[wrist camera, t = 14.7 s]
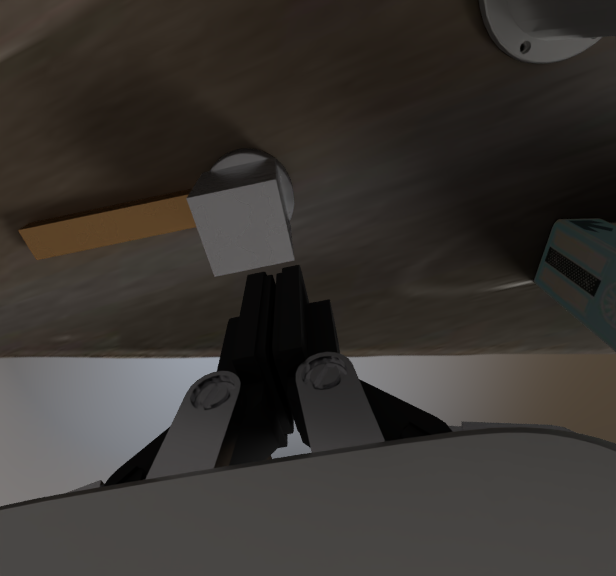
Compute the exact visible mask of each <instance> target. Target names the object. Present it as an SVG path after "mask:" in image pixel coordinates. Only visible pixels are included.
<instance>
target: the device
mask: <svg viewBox="0 0 616 576" xmlns="http://www.w3.org/2000/svg"><path fill="white" fill-rule="evenodd" d="M534 283H535V284H536V285H538V286H539V287H540V288H541V289H542V290H543V291H545V292H546V293H547V294H548V295H549V296H551V297H552V298H553V299H554V300H555V301H556V302H558V303H559V304H560V305H561V306H562V307H564V308H565V309H566V310H567V311H568V312H569V313H571V314H572V315H573V316H574V317H575V318H576V319H578V320H579V321H580V322H581V323H582V324H584V325H585V326H586V327H587V328H588V329H589V330H591V331H592V332H593V333H594V334H595V335H597V336H598V337H599V338H600V339H601V340H602V341H604V342H605V343H606V344H607V345H608V346H609V347H611V348H612V349H613V350H614V351H615V352H616V222H607V221H605V220H603V219H600V218H594V219H559V220H557V221H556V222H555V223H554V225H553V227H552V230H551V233H550V236H549V239H548V241H547V244H546V247H545V250H544V253H543V256H542V259H541V262H540V264H539V267H538V270H537V273H536V276H535V279H534Z"/></svg>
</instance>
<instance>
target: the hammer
mask: <svg viewBox="0 0 616 576" xmlns="http://www.w3.org/2000/svg"><path fill="white" fill-rule="evenodd" d="M269 158H274V157H273V156H272V155H270V154H268V153H266V152H264V151H261V150H257V149H251V148H243V149H237V150H234V151H231V152H229V153H227V154H225V155H223V156H222V157H221V158H220V159H218V160H217V161H216V163H215V164H214V165H213V167H212V168H211V170H210V171H213V170H218V169H222V168H227V167H232V166H236V165H241V164H246V163H250V162H255V161H260V160H264V159H269ZM276 163H277V167H278V172H279V176H280V180H281V185H282V189H283V194H284V198H285V203H286V207H287V211H288V216H289V220H290V219H291V216H292V213H293V209H294V194H293V187H292V182H291V179H290V177H289V174H288V172H287V171H286V169H285V168H284V166H283V165H282V164H281V163H280V162H279V161H278V160H277V159H276ZM191 190H192V189H188V190H184V191H179V192H174V193H169V194H165V195H160V196H155V197H150V198H146V199H141V200H136V201H131V202H127V203H122V204H117V205H112V206H108V207H103V208H98V209H93V210H89V211H84V212H79V213H74V214H70V215H65V216H60V217H56V218H51V219H46V220H41V221H37V222H32V223H28V224H27V225H25V226H24V227H22V228H21V229H19V230H18V231H19V233H20V234H21V236H22V238H23V239H24V241H25V242H26V244H27V246H28V247H29V249H30V250H31V252H32V254H33V255H34V257H35V259H36V260H40V259H45V258H49V257H54V256H59V255H64V254H69V253H73V252H78V251H83V250H88V249H93V248H97V247H102V246H107V245H112V244H117V243H121V242H126V241H131V240H136V239H141V238H146V237H150V236H155V235H160V234H165V233H170V232H174V231H179V230H184V229H189V228H194V227H196V224H195V221H194V218H193V215H192V213H191V210H190V207H189V204H188V202H187V199H186V198H187V197H188V195H189V193H190V192H191Z"/></svg>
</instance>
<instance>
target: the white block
mask: <svg viewBox="0 0 616 576" xmlns="http://www.w3.org/2000/svg"><path fill="white" fill-rule="evenodd" d="M186 199H187V202H188V204H189V207H190V210H191V213H192V215H193V218H194V221H195V224H196V227H197V229H198V232H199V235H200V238H201V240H202V243H203V246H204V249H205V251H206V254H207V257H208V260H209V262H210V265H211V268H212V271H213V274H214V276H220V275H225V274H230V273H235V272H240V271H245V270H249V269H254V268H259V267H264V266H269V265H274V264H279V263H283V262H288V261H293V260H294V250H293V241H292V232H291V225H290V220H289V216H288V211H287V207H286V203H285V198H284V194H283V189H282V185H281V180H280V176H279V172H278V167H277V163H276V158H275V157H274V158H269V159H264V160H260V161H255V162H250V163H246V164H241V165H236V166H232V167H227V168H222V169H218V170H213V171H208V172H204V173H202V174H201V176H200V178H199V179H198V181H197V182H196V184H195V185H194V187H193V189H192V190H191V192H190V193H189V195H188V197H187V198H186Z"/></svg>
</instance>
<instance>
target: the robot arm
mask: <svg viewBox="0 0 616 576" xmlns="http://www.w3.org/2000/svg"><path fill="white" fill-rule="evenodd" d="M479 6H480V11H481V15H482V19H483V22H484V25H485V27H486V29H487V31H488V33H489V35H490V37H491V39H492V40H493V41H494V43H495V44H496V45H497V46H498V48H499V49H500V50H502V51H503V52H504V53H506V54H507V55H508V56H510V57H512V58H514V59H517V60H519V61H522V62H527V63H535V64H542V63H553V62H558V61H563V60H566V59H568V58H571V57H573V56H575V55H578V54H580V53H581V52H583V51H584V50H586V49H588V48H589V47H591V46H592V45H594V44H595V43H596V42H598V41H599V40H600V39H601V38H602V37H605V36H616V0H479ZM521 45H522V48H521V50H520V46H521ZM294 421H295V424H296V427H297V430H298V432H299V433H300V435H301V438H302V441H303V443H305V444H306V445H307V446H309V447H310V448H311V451H312V453H307V454H300V455H294V456H288V457H281V458H275V459H272V457H271V454H272V453H273V452H274V451H275V450H276V449H277V448H281V447H287V434H291V433H293V431H294ZM0 576H616V444H615V443H612V442H609V441H606V440H603V439H600V438H596V437H592V436H588V435H584V434H579V433H576V432H573V431H571V430H569V429H567V428H565V427H560V426H553V425H538V424H511V423H485V422H484V423H483V422H462V426H459V427H458V426H448V425H447V424H446V423H445V422H443V421H442V420H440V419H439V418H437V417H435V416H433V415H431V414H429V413H427V412H425V411H423V410H421V409H419V408H417V407H415V406H413V405H410V404H409V403H407V402H405V401H402V400H400V399H398V398H396V397H394V396H392V395H390V394H388V393H386V392H384V391H382V390H380V389H378V388H376V387H374V386H372V385H370V384H368V383H366V382H364V381H362V380H360V379H358V376H357V374H356V371H355V369H354V367H353V364H352V363H351V361H350V360H349V359H348V358H347V357H345V356H344V355H342V354H340V350H339V344H338V338H337V333H336V327H335V322H334V317H333V313H332V308H331V303H330V300H324V301H319V302H313V303H309V300H308V296H307V292H306V288H305V284H304V280H303V276H302V272H301V268H300V265H296V266H291V267H286V268H282V273H278V274H277V277H276V284H275V281H274V278H273V275H268V276H267V274H266V272H260V273H255V274H250V275H248V276H247V281H246V286H245V291H244V296H243V301H242V307H241V312H240V317H235V318H231V319H229V321H228V325H227V330H226V334H225V338H224V343H223V347H222V351H221V356H220V360H219V364H218V369H217V372H213V373H210V374H208V375H205V376H203V377H202V378H201V379H199V380H197V381H196V382H195V383H194V384H193V385H192V386H191V387H190V389H189V390H188V392H187V393H186V395H185V397H184V399H183V402H182V403H181V406H180V408H179V410H178V412H177V414H176V416H175V418H174V420H173V422H172V425H171V426H170V427H169V428H168V429H167V430H166V431H164V432H163V433H162V434H161V435H159V436H158V437H157V438H156V439H154V440H153V441H152V442H151V443H149V444H148V445H147V446H146V447H145V448H143V449H142V450H141V451H140V452H138V453H137V454H136V455H135V456H134V457H132V458H131V459H130V460H129V461H127V462H126V463H125V464H124V465H123V466H121V467H120V468H119V469H118V470H117V471H116V472H115V473H114V474H113V475H112V476H111V477H110V478H109V479H108V480H107V482H106V483H105V484H104V483H103V482H102V481H101V480H100V481H97V482H94V483H92V484H89V485H86V486H84V487H81V488H78V489H76V490H73V491H70V492H68V493H64V494H59V495H54V496H49V497H43V498H37V499H32V500H28V501H23V502H18V503H14V504H9V505H4V506H1V507H0Z"/></svg>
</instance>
